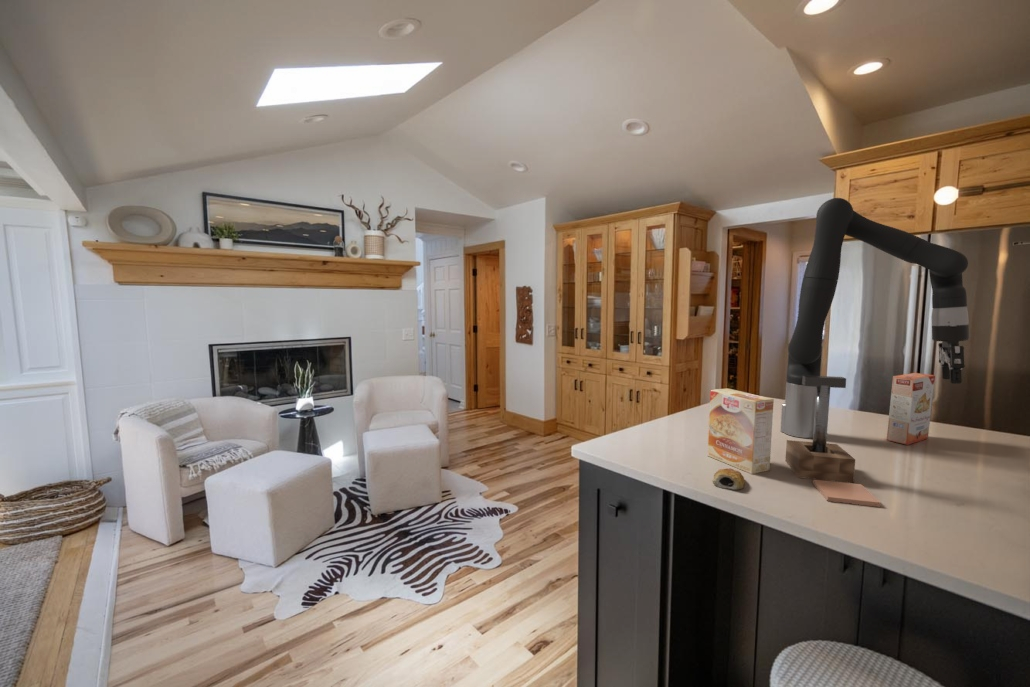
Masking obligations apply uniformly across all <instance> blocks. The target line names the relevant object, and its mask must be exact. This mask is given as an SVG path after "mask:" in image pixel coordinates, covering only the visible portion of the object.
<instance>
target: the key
mask: <svg viewBox="0 0 1030 687" xmlns="http://www.w3.org/2000/svg"><path fill="white" fill-rule="evenodd" d="M846 384H847V378H846V377H843V376H827V375H825V376H823V375H820V376H807V375H803V377H802V385H804V386H814V387H816V398H815V413H814V428H813V438H812V441H811V442H812V452H819V453H826V443H827V439H828V427H829V424H828V423H829V411H830V399H831V398H830V397H831V395H830V394H831V388H835V389H836V388H837V389H838V388H840V389H846V386H847V385H846Z"/></svg>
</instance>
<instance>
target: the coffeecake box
mask: <svg viewBox="0 0 1030 687" xmlns="http://www.w3.org/2000/svg"><path fill="white" fill-rule="evenodd" d="M774 402H775V399H774V398H770V397H766V396H761V395H757V394H752V393H750V392H746V391H741V390H736V389H732V388H726V387H725V388H715V389H711V390H710V395H709V417H708V419H709V420H708V439H707V440H708V441H707V443H708V444H707V457H709V458H712V459H715V460H716V461H719V462H722V463H724V464H727V465H729V466H731V467H733V468H736V469H739V470H741V471H744V472H746V473H748V474H751V475H755V474H759V473H761V472H762V473H763V472H767V471H770V469H771V468H770V467H771V453H772V438H773V437H772V435H773V418H774V414H773V413H774Z"/></svg>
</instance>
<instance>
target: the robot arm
mask: <svg viewBox="0 0 1030 687" xmlns="http://www.w3.org/2000/svg"><path fill="white" fill-rule="evenodd" d="M815 221H816V222H815V230H814V231H815V233H814V240H813V246H812V249H811V250H810V253H809V257H808V260H807V263H806V267H805V270H804V272H803V273H804V274H803V276H802V281H801V285H800V286H801V287H800V291H799V292H800V293H799V299H798V301H799V302H798V314H797V319H796V324H795V327H794V329H793V330H794V331H793V333H792V336H791V339H790V342H789V343H788V347H787V352H788V356H787V357H788V358H787V370H786V383H785V396H784V397H785V398H784V399H785V400H784V403H782V404H781V416H780V418H781V419H780V432H782V433H784V434H786V435H789V436H791V437H796V438H801V439H802V438H803V439H811V438H812V439H813V428H814V413H815V398H816V387H814V386H804V385H802V377H803V375H807V376H821V365H822V354H823V352H822V351H823V337H824V336H823V335H824V327H825V322H826V320H827V317H828V315H829V311H830V309H831V306H832V303H833V300H834V298H835V294H836V290H837V286H838V280H839V278H840V272H841V271H840V270H841V269H840V268H841V260H842V259H841V256H842V247H843V243H844V239H845V237H846V236H847V237H851V238H854V239H855V240H859V241H861V242H864V243H865V244H867V245H870V246H872V247H874V248H876V249H878V250H880V251H882V252H884V253H887V254H889V255H890V256H893V257H895V258H897V259H899V260H902V261H903V262H907V263H908V264H909V263H910V264H914V265H918V266H920V267H921V268H925V269H927V270H929V272H928V273H929V279H930V284H931V286H930V287H931V290H932V291H931V292H932V296H931V304H932V310H931V340H932V341H933V342H939V343H938V363H939V364H940V366H941V378H942V379H943V380H949V382H950V383H951V384H957V385H958V384H962V382H963V380H962V370H963V369H965V367H966V366H965V355H964V354H965V353H964V350H965V347H964V346H963V345H960V342H965V341H968V340H970V329H969V328H970V322H969V312H968V303H967V302H968V298H967V289H966V288H965V287H964V285H963V274H964V272H965V271H966V270H967V268H968V267H969V259H968V258H967V256H966V255H964V254H963V253H962V252H960V251H958V250H956V249H953V248H949V247H948V246H947V247H946V246H943V245H940V244H936V243H932V242H931V241H928V240H927V239H924V238H921V237H919V236H917V235H914V234H912V233H910V232H907V231H905V230H902V229H899V228H896V227H893V226H889V225H886V224H882V223H880V222H876V221H874V220H872V219H869V218H867V217H865V216H863V215H861V214H859V213H858V212H857V211H855V210H854V208H853V205H852V204H851V202H850V201H848V200H847V199H845V198H841V197H833V198H830V199H828V200H826V201H825V202H824V203H822V204H821V205H820V206H819V208H818V209H817V211H816V220H815Z"/></svg>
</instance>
